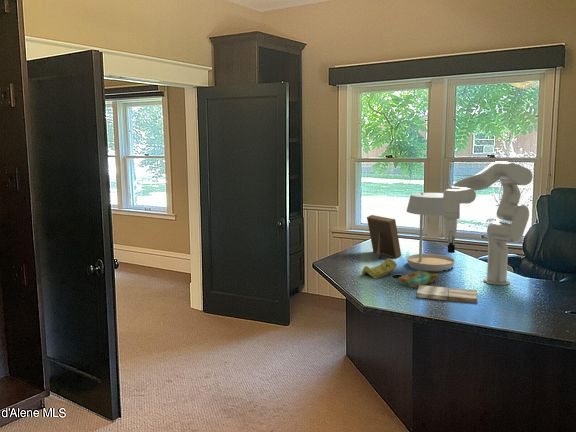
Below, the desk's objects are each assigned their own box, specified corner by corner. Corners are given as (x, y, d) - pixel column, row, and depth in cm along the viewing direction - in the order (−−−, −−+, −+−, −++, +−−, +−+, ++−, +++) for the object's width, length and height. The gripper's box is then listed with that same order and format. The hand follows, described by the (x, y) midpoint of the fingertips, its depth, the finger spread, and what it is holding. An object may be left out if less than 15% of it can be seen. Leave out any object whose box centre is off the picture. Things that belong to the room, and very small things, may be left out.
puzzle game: (398, 276, 270) (419, 268, 284) (398, 284, 271) (418, 277, 285) (418, 280, 262) (438, 272, 276) (417, 289, 262) (438, 281, 276)
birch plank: (448, 291, 257) (448, 287, 256) (447, 300, 244) (447, 296, 243) (419, 288, 261) (419, 285, 261) (416, 297, 248) (416, 293, 248)
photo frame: (378, 251, 347) (378, 214, 343) (401, 257, 329) (401, 218, 325) (360, 254, 340) (360, 216, 336) (383, 260, 322) (384, 220, 317)
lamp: (449, 274, 288) (452, 197, 281) (398, 268, 302) (400, 194, 296) (461, 263, 313) (464, 192, 306) (413, 258, 327) (415, 189, 320)
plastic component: (376, 275, 280) (363, 264, 286) (372, 285, 284) (360, 274, 290) (400, 266, 293) (387, 256, 299) (396, 276, 296) (383, 266, 302)
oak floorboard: (449, 291, 257) (449, 288, 256) (476, 294, 253) (476, 290, 252) (448, 300, 244) (448, 296, 243) (477, 303, 239) (477, 298, 239)
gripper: (443, 212, 258) (443, 248, 262) (442, 217, 244) (442, 256, 248) (459, 212, 256) (459, 249, 259) (459, 218, 242) (459, 256, 245)
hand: (451, 252), depth 253 cm, fingers closed
